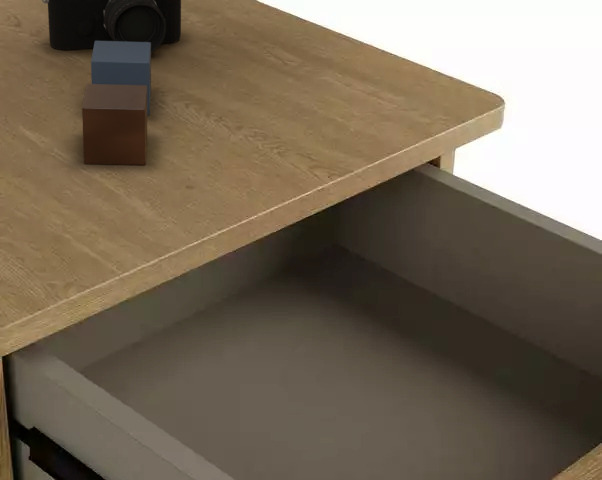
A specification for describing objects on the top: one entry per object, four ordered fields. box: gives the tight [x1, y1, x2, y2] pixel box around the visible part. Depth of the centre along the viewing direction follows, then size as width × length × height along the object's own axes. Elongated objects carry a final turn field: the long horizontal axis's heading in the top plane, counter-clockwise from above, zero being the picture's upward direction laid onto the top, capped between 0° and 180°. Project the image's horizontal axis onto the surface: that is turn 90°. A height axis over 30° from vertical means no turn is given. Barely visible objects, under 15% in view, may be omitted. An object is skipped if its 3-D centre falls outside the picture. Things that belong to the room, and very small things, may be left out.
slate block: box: [90, 41, 152, 117], centre depth 116 cm, size 5×5×5 cm
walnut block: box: [81, 83, 148, 166], centre depth 107 cm, size 5×5×5 cm
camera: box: [41, 0, 182, 53], centre depth 127 cm, size 14×7×8 cm, turn 109°
